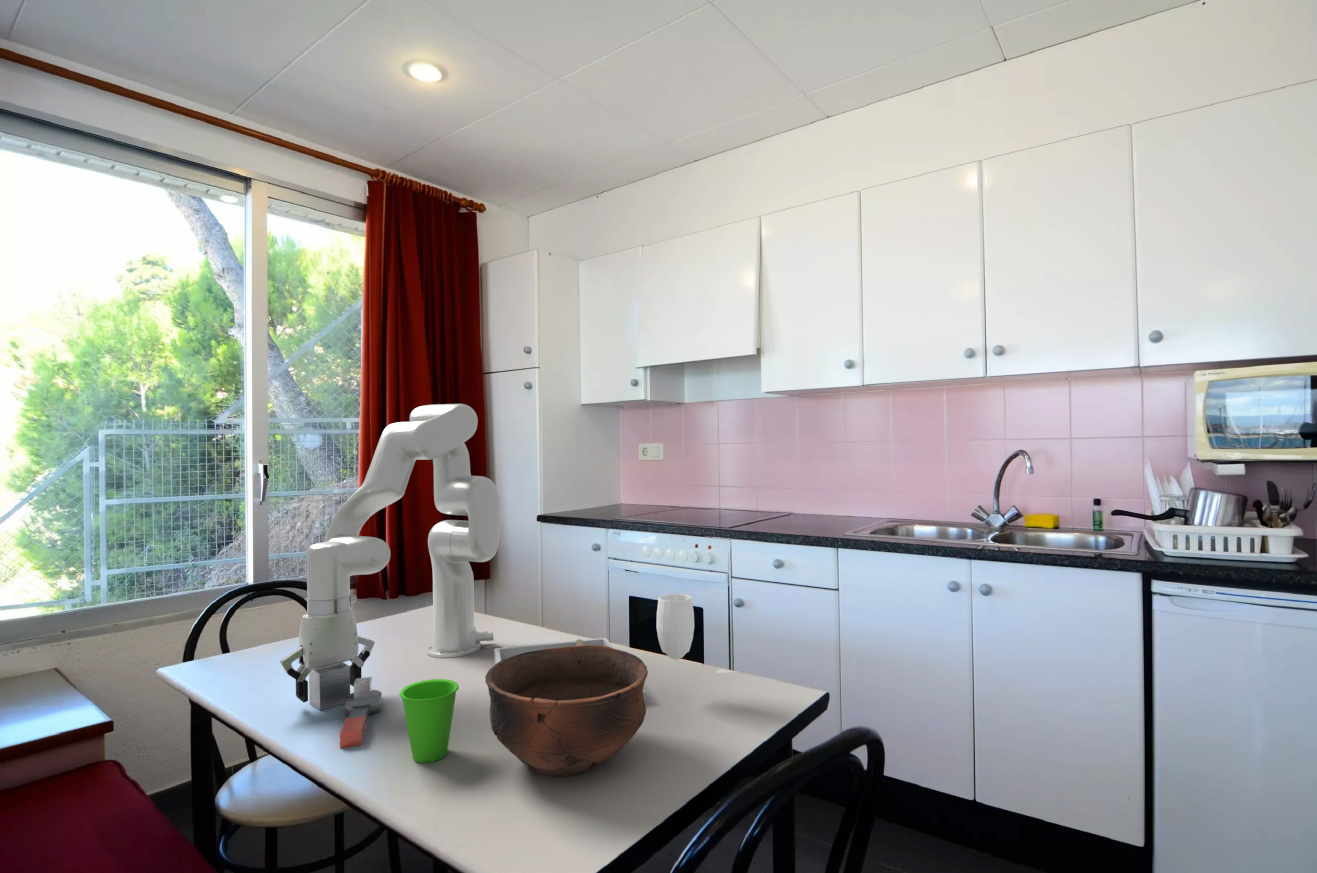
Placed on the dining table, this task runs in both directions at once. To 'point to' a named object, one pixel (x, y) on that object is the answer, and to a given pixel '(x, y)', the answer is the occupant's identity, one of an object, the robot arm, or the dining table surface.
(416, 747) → the cup
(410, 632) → the dining table surface
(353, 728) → the ratchet
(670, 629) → the cup
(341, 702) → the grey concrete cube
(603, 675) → the bowl
